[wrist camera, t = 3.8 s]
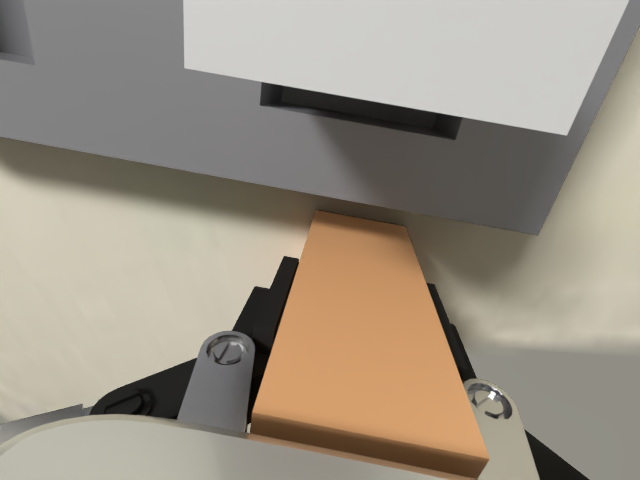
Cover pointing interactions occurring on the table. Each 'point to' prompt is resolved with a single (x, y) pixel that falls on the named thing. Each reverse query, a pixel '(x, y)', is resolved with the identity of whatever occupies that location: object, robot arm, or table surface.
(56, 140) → the power strip
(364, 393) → the plug
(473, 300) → the table surface
